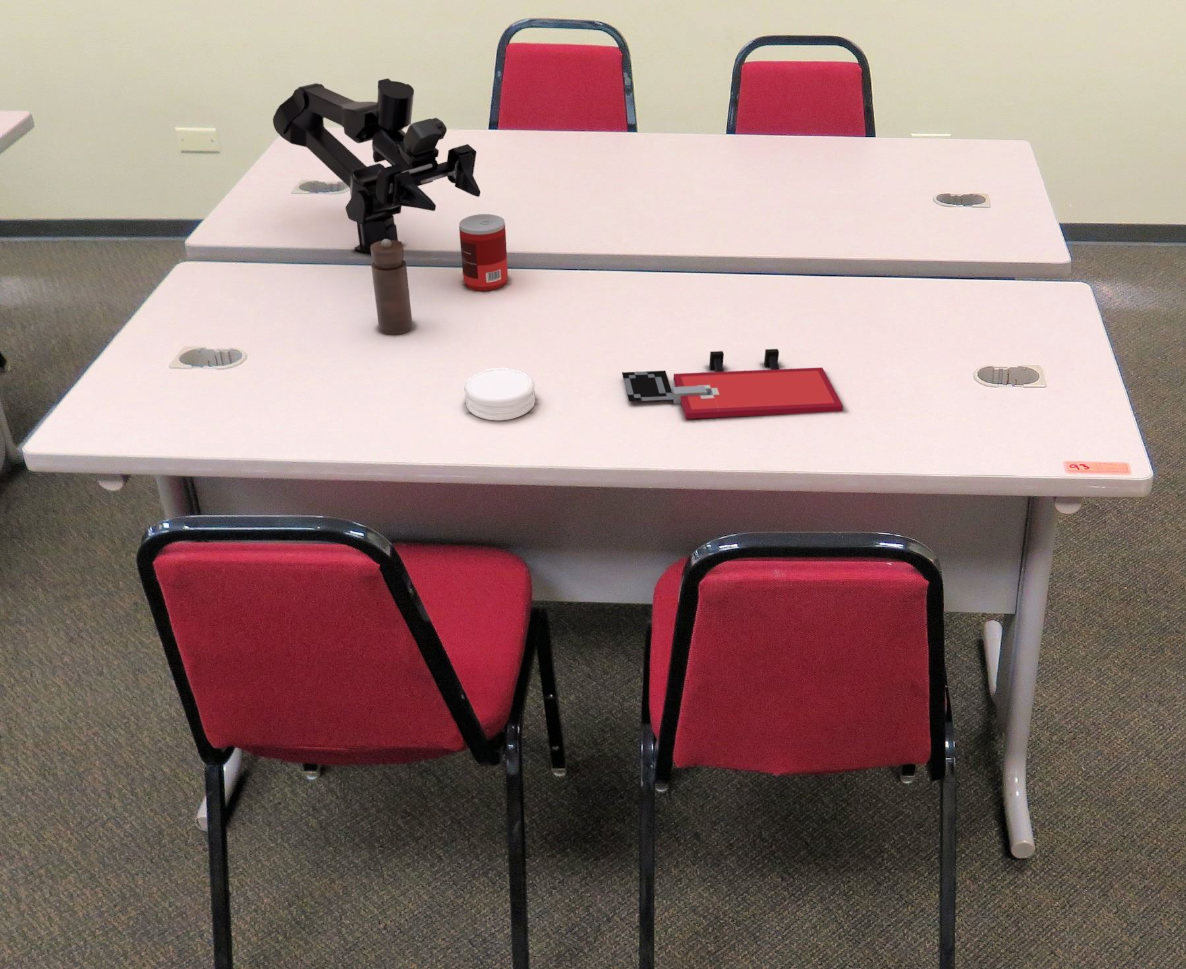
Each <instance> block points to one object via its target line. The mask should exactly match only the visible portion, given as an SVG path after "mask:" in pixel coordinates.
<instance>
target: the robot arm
mask: <svg viewBox="0 0 1186 969" xmlns="http://www.w3.org/2000/svg"><path fill="white" fill-rule="evenodd" d="M414 98H415V89H414V87H413V86H412V85H410V84H409V83H404V82H401V81H396V80H391V79H390V78H389V77H388V78H384V79H383V78H382V79H379V80H378V81H377V99H376V100H377V101H356V100H353V99H351V98H349V97H347V96H345V95H342V94H339V92H335V91H333V90H331V89H328V88H326V87H325V86H324V84H322V83H317V82H315V83H311V84H306V85H303V86H298V87H297V88H296V89H295V90H293V93H292V95H290V97H288V98H287V99H286V100H284V101H283V102H282V103H281V104H279V106H278V108H276V110H275V113H274V115H273V117H272V125H273V127H274V130H275V132H276V133H277V134H278V135H279V136H280V137H281V139H283V140H284V141H287V142H288V143H289V144H290V145H295V146H298V147H303V148H307V149H308V150H309V151H310V152H311V153H312V154H313V155H314V156H315V157H316V158H317V159H319V160H320V161H321V163H323V165H324V166H326V167H327V168H328V169H329V170H330V171H331V172H332V173H333V174H334V175H335V176H336V177H337V178H339V180H341V181H342V182H343V183H344V184H345V185H346V186H347V187H348V188H349V191H350V200H349V201H348V202H347V204H346V206H345V211H346V216H347V217H348V219H349V220H350V221H352V222H355V223H356V228H357V235H358V244H359V245H357V246H354V251H355V252H359V253H364V254H369V255H371V248H370V247H371V245H372V244H374V243H376V242H378V241H383V240H384V239H389V240H395V241H399V238H398V229H397V228H398V227H397V224H396V223H395V215H399V214H401V212H402V207H406V208H407V207H408V208H414V209H419V210H425V211H431V212H435V211H436V210H437V205H436V203H435V202H434V200H432V199H431V197H429V195H428V194H426V193H425V191H423V190H422V189H421V188H420V186H424V185H427V184H430V183H433V182H434V181H436V180H441V179H443V178H447V180H448V181H449V182H450V183H452V184H454V187H455V188H457V189H459V190H461V191H463V192H465V193H466V194H469V195H471V196H474V197H477V198H479V197H480V196H481V190H480V187H479V185H478V183H477V181H476V179H475V177H474V171H475V164H476V158H477V150H476V149H474V148H473V147H472V146H471V145H470V144H468V143H466V144H463V145H460V146H459V145H458V146H456V147H453V148H450V149H448V151H447V158H446V161H443V162H440V163H438V160H437V158H438V157H439V152H440V150H439V149H438V148H436V147H437V145H438V143H439V141H440V140H444V138H445V136H446V134H447V131H448V129H447V125H445V123H444V121H442V120H441V119H440V118H438V117H433V118H427V119H423V120H419V121H415V122H413V123H412V115H413V107H414ZM324 119H326V120H329V121H330V122H333V123H335V124H337V125H339V126H341V127H342V128H343V133H344V135H345V136H347V137H348V138H349V139H351V140H352V141H353V142H354V143H356V144H363V143H366V142H370V141H371V147H372V148H371V149H372V159H373V162H374V163H375V164H372V165H368V166H367V164H365V163H364V162H363V161H361V159H359V158H358V156H356V155H355V153H353V152H352V151H351V150H350V149H348V148H347V147H346V146H345V144H344V143H342V142H341V141H340V140H339V139H338V138H337V137H336V136H335V135H334V134H332V133H331V132H330V131H329V130H328V129H327V128H326V127H325V123H324ZM406 127H407V130H406V132H405V131H404V130H403V129H405V128H406ZM384 161H386V162H387V163H388V164H389V166H385V165H383V164H382V163H380V162H384ZM399 242H401V243H402V241H399ZM402 244H403V243H402Z"/></svg>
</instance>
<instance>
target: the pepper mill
mask: <svg viewBox="0 0 1186 969" xmlns="http://www.w3.org/2000/svg"><path fill="white" fill-rule="evenodd" d="M401 242H402V241H400V242H399V240H398V241H395V240H389V239H384V240H383V241H378V242H376V243H374V244H372V245H371V247H370V248H371V254H370V255H371V256H370V257H371V261H372V262H371V267H370V268H371V275H372V282H373V284H372V285H373V291H374V300H375V308H376V315H377V316H376V317H377V323H378V331H379V332H381V333H382V334H385V335H389V336H397V335H402V334H407V333H409V332H410V331H412V329H413V326H414V325H413V317H412V308H411V298H410V287H409V286H410V285H409V278H408V268H407V262H406V261H405V252H404V251H405V250H404V244H403V243H401Z"/></svg>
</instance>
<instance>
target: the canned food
mask: <svg viewBox="0 0 1186 969" xmlns="http://www.w3.org/2000/svg"><path fill="white" fill-rule="evenodd" d="M458 225H459V227H458V228H459V243H460V256H461V257H460V258H461V267H462V268H461V269H462V279H463V283H464V286H466V287H467V288H468V289H470V290H472V291H479V292H488V291H494V290H497V289H500V288H502V287H504V286H505V285H506V284H507V282H508V278H509V275H508V274H509V273H508V272H509V271H508V256H507V255H508V253H507V252H508V251H507V232H506V222H505V219H504V218H503V217H501V216H499V215H497V214H490V213H483V214H482V213H480V214H479V213H478V214H473V215H470V216H469V215H468V216H467V217H465V218H462V219H461V220H460V221H459V223H458Z"/></svg>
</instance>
